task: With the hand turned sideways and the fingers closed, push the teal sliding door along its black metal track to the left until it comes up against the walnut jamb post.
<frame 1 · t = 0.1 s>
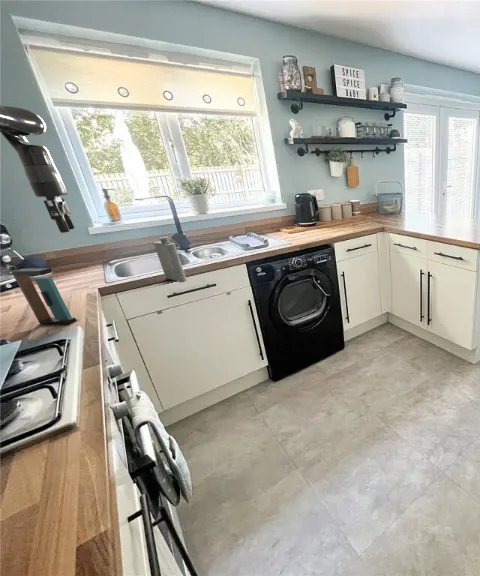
hand: (68, 230, 105), 30 cm above the countertop, tool pointing down, fingers open, 8 cm apart
door frame: (58, 322, 108), on the countertop
hip flask: (177, 279, 145), on the countertop
door: (53, 299, 104), point 9 cm above the countertop, slide at 0.0 cm
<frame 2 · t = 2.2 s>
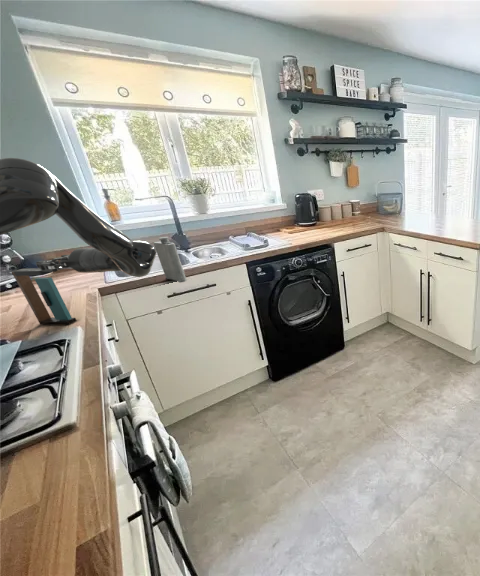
hand: (51, 261, 98), 22 cm above the countertop, tool horizontal, fingers open, 6 cm apart
nothing on the countertop moved.
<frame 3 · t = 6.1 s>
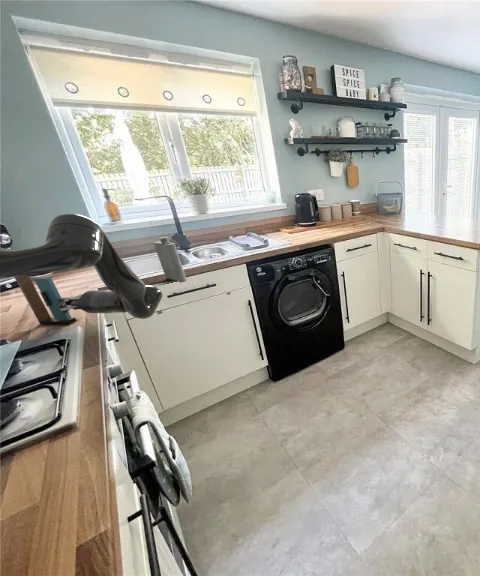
hand: (61, 301, 104), 8 cm above the countertop, tool horizontal, fingers closed
door: (53, 299, 104), point 9 cm above the countertop, slide at 0.3 cm, touching gripper
everything else where it was.
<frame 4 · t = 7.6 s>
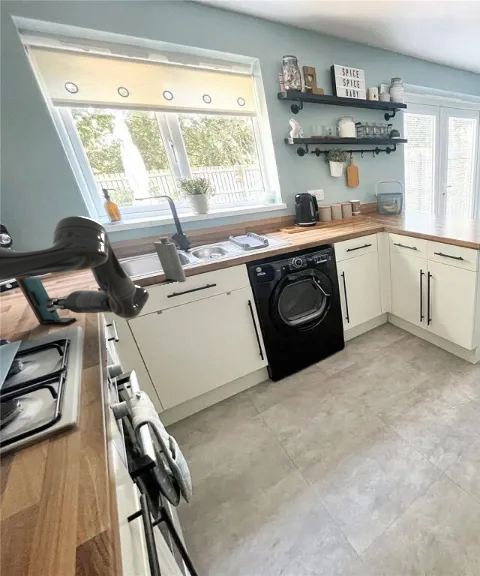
hand: (49, 301, 104), 8 cm above the countertop, tool horizontal, fingers closed
door: (41, 299, 105), point 9 cm above the countertop, slide at 5.3 cm, touching gripper
everything else where it was.
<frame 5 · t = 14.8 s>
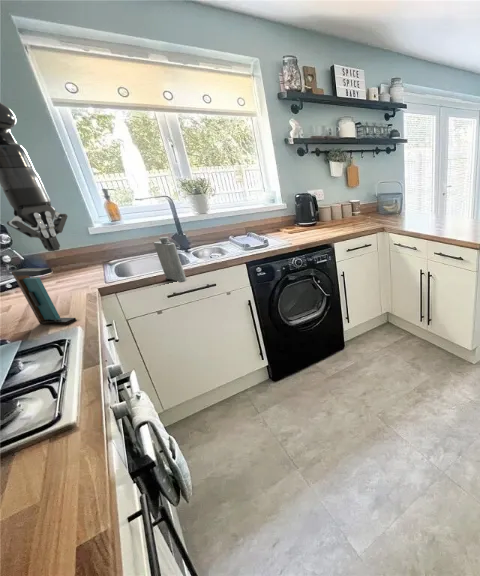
hand: (54, 250, 88), 27 cm above the countertop, tool pointing down, fingers closed
door: (42, 299, 105), point 9 cm above the countertop, slide at 5.0 cm
everything else where it was.
at the end: door slide at 5.0 cm; hip flask moved 0.2 cm from its start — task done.
